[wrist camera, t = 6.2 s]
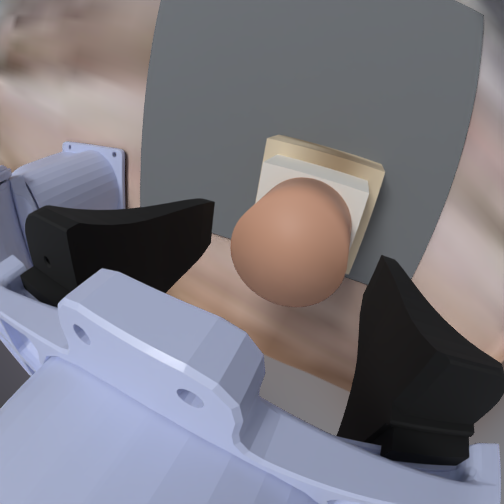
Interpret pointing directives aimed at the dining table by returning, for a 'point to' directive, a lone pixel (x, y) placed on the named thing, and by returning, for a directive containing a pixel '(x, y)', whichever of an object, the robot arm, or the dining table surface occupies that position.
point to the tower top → (344, 184)
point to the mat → (312, 104)
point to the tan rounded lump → (294, 243)
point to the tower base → (336, 162)
